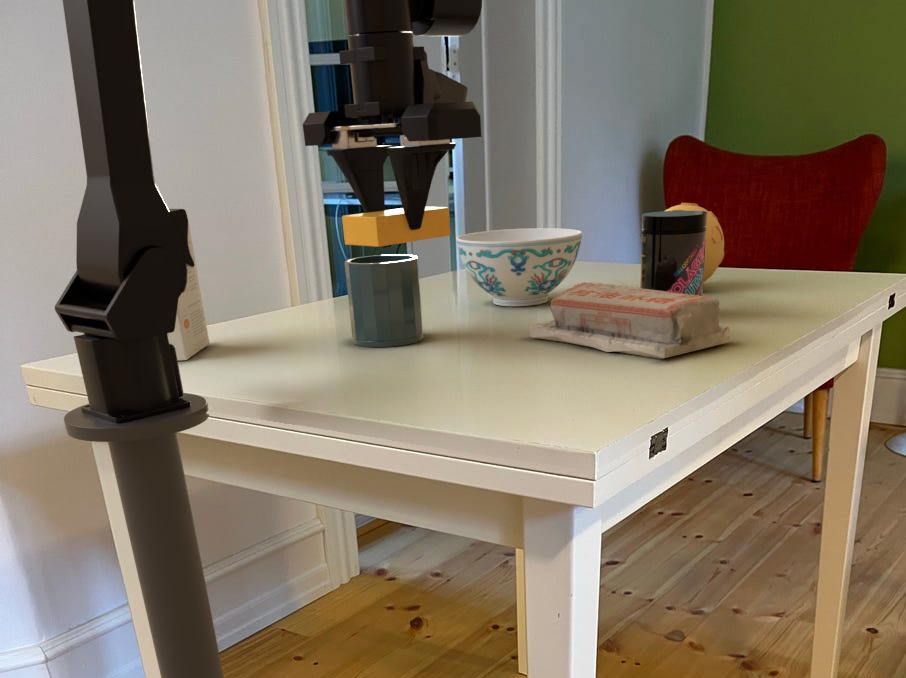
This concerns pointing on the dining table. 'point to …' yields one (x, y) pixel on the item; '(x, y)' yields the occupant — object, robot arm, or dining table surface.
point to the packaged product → (633, 320)
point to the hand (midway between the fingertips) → (397, 228)
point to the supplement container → (673, 251)
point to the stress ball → (708, 239)
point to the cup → (384, 300)
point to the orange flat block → (394, 227)
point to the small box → (190, 316)
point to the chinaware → (519, 262)
